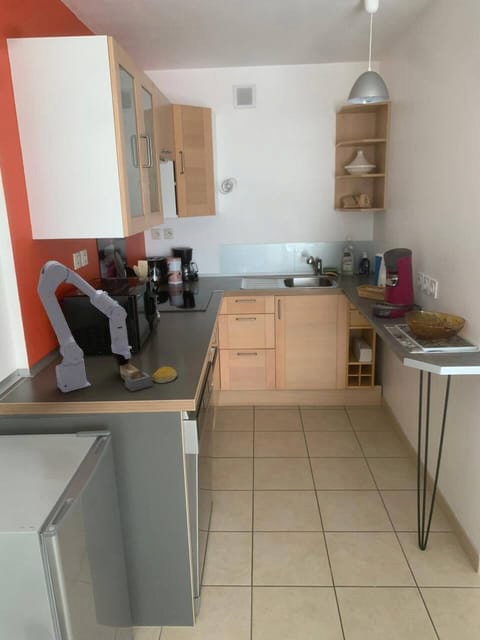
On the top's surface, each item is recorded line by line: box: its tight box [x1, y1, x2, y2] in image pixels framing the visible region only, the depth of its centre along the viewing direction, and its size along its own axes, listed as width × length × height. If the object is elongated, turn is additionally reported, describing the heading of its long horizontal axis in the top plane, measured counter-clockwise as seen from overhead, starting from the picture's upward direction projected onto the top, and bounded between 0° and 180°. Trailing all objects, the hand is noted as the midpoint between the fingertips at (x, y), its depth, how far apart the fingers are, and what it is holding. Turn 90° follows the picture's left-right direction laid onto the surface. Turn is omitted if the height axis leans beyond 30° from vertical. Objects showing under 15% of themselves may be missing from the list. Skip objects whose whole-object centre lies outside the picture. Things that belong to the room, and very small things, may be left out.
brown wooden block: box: [119, 363, 141, 381], centre depth 168 cm, size 4×10×4 cm, turn 34°
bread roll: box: [151, 366, 178, 384], centre depth 168 cm, size 8×9×4 cm
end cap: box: [124, 371, 153, 392], centre depth 162 cm, size 7×6×4 cm
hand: (123, 372), depth 174 cm, fingers closed
